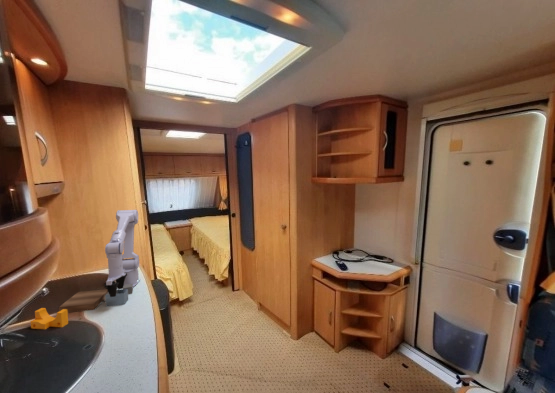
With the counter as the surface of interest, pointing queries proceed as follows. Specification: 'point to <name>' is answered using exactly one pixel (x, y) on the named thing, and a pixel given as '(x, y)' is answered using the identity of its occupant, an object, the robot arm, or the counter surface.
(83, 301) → the walnut stand
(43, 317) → the pipe clamp
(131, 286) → the grey rubber block
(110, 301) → the block
